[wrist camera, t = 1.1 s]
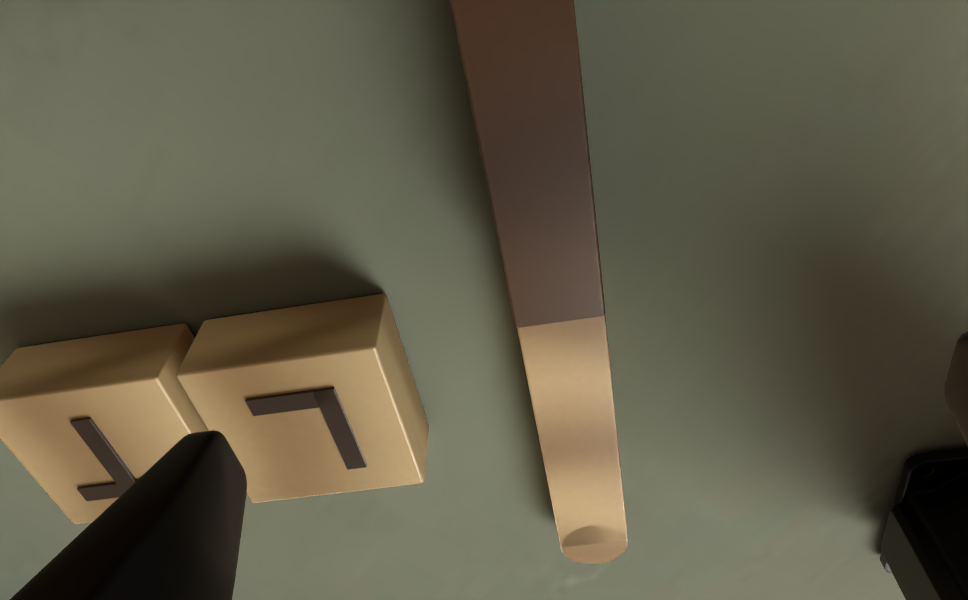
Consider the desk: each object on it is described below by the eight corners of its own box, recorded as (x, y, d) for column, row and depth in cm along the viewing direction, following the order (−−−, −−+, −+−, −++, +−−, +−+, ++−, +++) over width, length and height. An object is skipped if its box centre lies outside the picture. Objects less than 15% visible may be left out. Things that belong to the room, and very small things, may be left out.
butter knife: (437, -101, 14) (427, -78, 12) (556, -127, 14) (569, -108, 12) (561, 539, 27) (568, 608, 25) (624, 532, 27) (637, 602, 24)
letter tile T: (186, 321, 21) (154, 380, 19) (256, 447, 24) (235, 508, 22) (15, 347, 21) (-34, 406, 19) (105, 466, 24) (71, 528, 22)
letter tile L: (385, 291, 20) (374, 349, 18) (429, 425, 23) (424, 486, 21) (203, 319, 21) (172, 377, 19) (270, 445, 24) (250, 507, 22)
